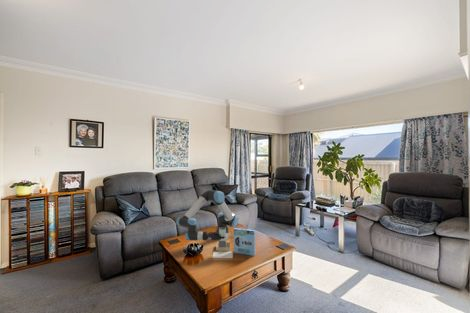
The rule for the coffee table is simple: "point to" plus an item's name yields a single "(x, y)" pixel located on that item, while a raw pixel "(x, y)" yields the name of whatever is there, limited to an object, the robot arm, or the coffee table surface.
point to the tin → (223, 241)
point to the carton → (223, 247)
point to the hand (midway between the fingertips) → (228, 235)
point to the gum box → (244, 241)
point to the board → (223, 254)
